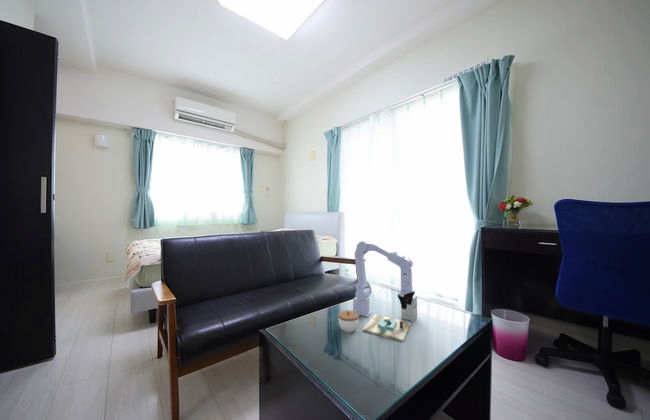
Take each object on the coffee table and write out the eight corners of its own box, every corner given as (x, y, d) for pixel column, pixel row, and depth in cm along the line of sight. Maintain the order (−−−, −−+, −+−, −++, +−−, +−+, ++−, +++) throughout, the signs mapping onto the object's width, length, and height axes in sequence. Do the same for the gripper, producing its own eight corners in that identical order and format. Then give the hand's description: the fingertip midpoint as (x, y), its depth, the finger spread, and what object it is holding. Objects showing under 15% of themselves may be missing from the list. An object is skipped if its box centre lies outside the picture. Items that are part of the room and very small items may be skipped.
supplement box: (414, 321, 124) (413, 298, 124) (400, 318, 128) (400, 296, 129) (417, 317, 130) (417, 295, 130) (404, 313, 134) (404, 292, 135)
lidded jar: (358, 335, 109) (358, 316, 110) (336, 333, 111) (336, 314, 112) (359, 325, 120) (359, 307, 120) (339, 323, 122) (339, 306, 122)
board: (362, 331, 114) (362, 323, 114) (374, 316, 131) (374, 309, 131) (403, 341, 104) (403, 333, 104) (410, 324, 121) (410, 316, 121)
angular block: (381, 320, 123) (381, 314, 123) (396, 323, 119) (396, 317, 119) (374, 331, 111) (374, 324, 111) (390, 335, 107) (390, 328, 107)
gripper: (409, 285, 113) (409, 313, 112) (418, 279, 124) (418, 304, 123) (395, 283, 117) (395, 309, 117) (405, 277, 128) (405, 301, 128)
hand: (406, 306), depth 120 cm, fingers open, 7 cm apart
